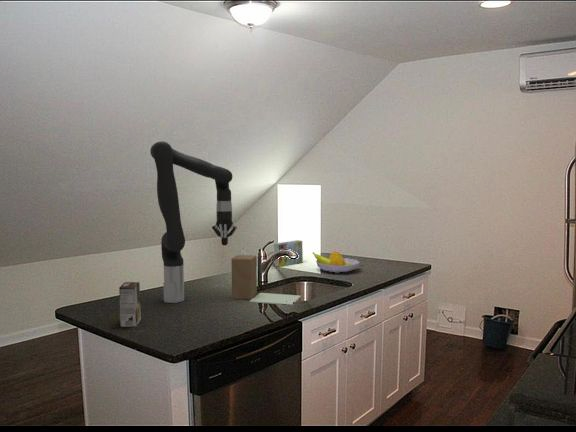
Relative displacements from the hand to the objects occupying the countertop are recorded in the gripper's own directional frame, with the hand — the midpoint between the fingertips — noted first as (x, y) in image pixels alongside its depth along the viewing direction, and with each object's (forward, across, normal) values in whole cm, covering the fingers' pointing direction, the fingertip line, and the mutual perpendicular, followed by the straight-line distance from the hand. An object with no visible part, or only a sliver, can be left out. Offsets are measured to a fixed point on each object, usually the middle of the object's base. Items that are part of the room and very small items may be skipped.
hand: (224, 245), depth 241 cm
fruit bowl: (+26, +42, +74) cm, 89 cm away
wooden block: (+26, +10, 0) cm, 27 cm away
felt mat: (+25, +26, 0) cm, 36 cm away
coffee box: (+25, -20, -51) cm, 60 cm away
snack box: (+26, +8, +86) cm, 90 cm away
